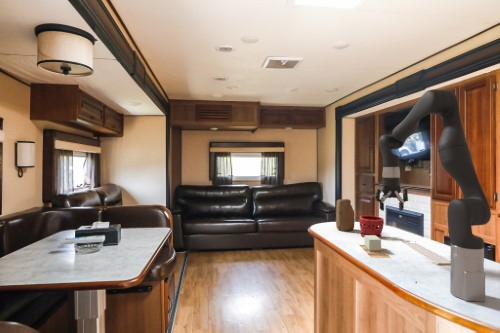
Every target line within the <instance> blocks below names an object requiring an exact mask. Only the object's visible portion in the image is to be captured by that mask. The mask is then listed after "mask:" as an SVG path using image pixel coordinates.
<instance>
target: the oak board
mask: <svg viewBox="0 0 500 333" xmlns="http://www.w3.org/2000/svg"><path fill="white" fill-rule="evenodd" d="M359 247H360V248H361V249H362V250H363V251H364V252H365V253H366V255H368V256H369V257H370V258H372V259H373V258H374V259H375V258H376V259H392V257H391V256H390V255H389V254H387V252H385V251H384V249H382V248H381V252H369V251H368V250H367V249H366V248H365V244H359Z"/></svg>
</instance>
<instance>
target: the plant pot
mask: <svg viewBox="0 0 500 333" xmlns="http://www.w3.org/2000/svg"><path fill="white" fill-rule="evenodd" d="M384 222H385V220H384V218H383V217H380V216H377V215H360V216H359V228H360V233H359V235H360V236H361V237H362V238H365V235H376V236H377V237H378V238H382V236H383V235H382V232H383V229H384Z"/></svg>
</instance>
